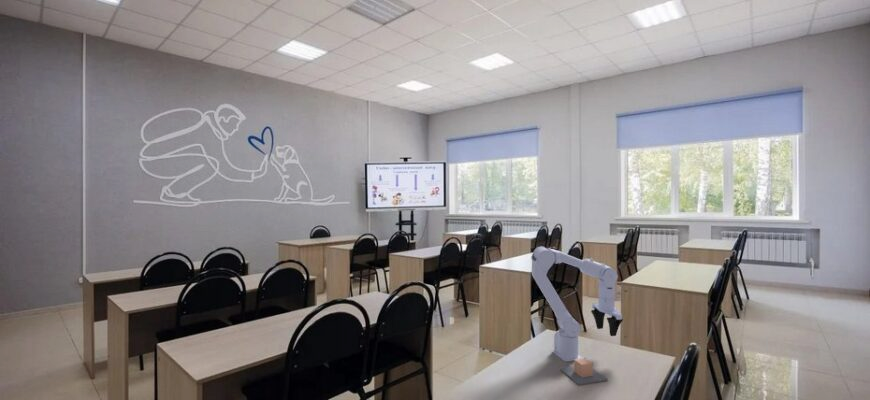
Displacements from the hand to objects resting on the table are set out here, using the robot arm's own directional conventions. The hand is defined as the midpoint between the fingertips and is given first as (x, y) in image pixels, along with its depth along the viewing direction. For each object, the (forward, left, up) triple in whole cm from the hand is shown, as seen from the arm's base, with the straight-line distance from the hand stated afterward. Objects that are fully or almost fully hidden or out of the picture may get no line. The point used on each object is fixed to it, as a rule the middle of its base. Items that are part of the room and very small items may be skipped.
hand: (606, 332), depth 154 cm
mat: (+11, -18, -9) cm, 23 cm away
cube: (+11, -18, -9) cm, 23 cm away
